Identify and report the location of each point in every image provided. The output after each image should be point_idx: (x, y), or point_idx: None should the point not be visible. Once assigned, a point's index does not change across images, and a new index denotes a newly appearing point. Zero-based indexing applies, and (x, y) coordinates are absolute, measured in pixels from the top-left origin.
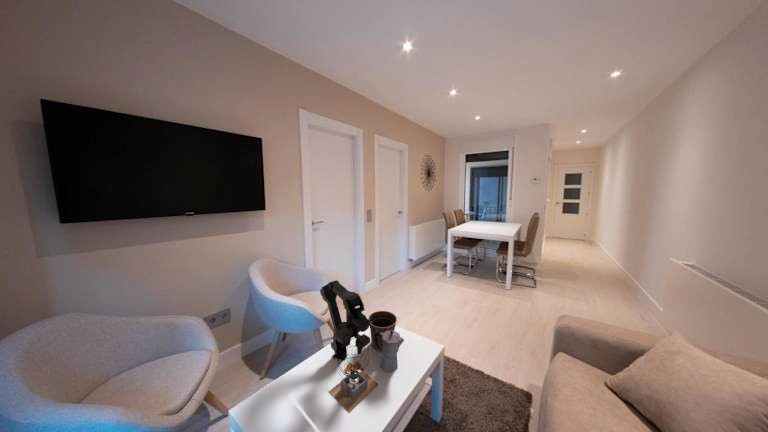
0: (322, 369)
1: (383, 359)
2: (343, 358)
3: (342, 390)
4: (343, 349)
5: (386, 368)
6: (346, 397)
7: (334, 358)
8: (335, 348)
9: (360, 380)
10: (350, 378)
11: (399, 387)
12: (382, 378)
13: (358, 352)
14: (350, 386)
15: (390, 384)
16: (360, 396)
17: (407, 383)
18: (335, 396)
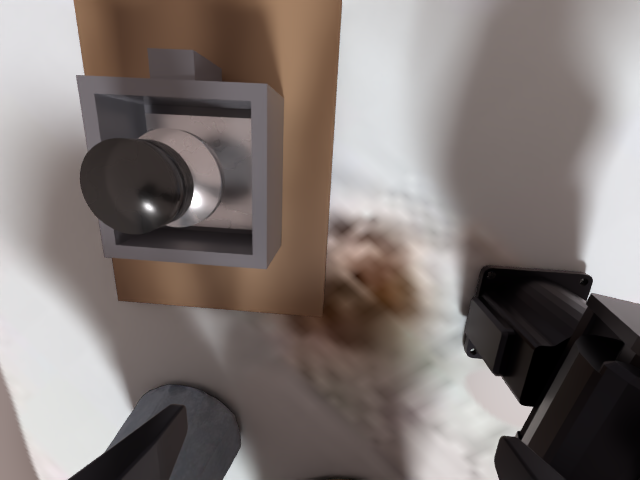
0: (568, 133)
1: None
2: (477, 308)
3: None
4: (529, 369)
5: (146, 411)
6: None
7: (553, 271)
8: (633, 320)
9: (198, 236)
10: (205, 162)
11: (42, 352)
12: (152, 344)
13: (107, 456)
14: (218, 148)
15: (89, 339)
16: None
17: (36, 394)
18: (261, 12)
